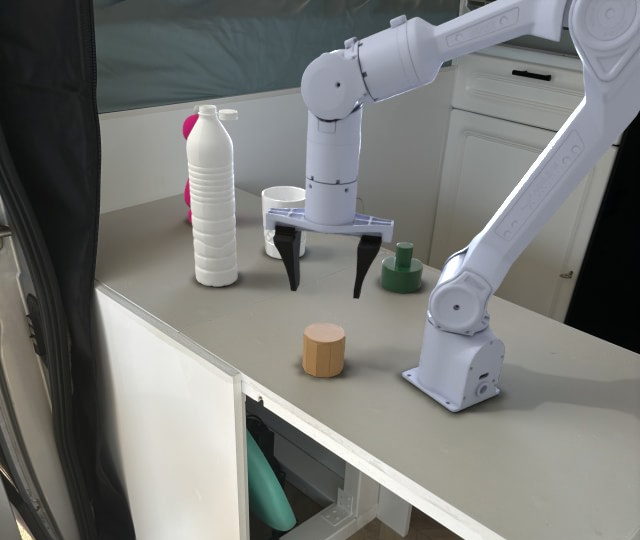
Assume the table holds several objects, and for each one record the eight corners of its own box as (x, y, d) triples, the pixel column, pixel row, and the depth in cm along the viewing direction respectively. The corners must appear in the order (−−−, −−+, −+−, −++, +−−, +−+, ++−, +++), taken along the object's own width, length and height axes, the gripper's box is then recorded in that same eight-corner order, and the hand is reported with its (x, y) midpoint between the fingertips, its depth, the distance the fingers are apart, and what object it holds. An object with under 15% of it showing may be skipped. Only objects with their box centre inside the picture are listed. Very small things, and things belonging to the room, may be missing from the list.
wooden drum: (350, 370, 83) (353, 335, 80) (317, 381, 80) (318, 346, 77) (328, 352, 86) (330, 318, 83) (295, 363, 84) (295, 328, 81)
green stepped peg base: (428, 287, 104) (434, 248, 100) (397, 296, 101) (402, 256, 97) (402, 273, 108) (407, 234, 104) (372, 281, 105) (375, 241, 101)
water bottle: (187, 277, 103) (173, 103, 88) (219, 266, 107) (211, 98, 92) (223, 296, 98) (214, 116, 83) (255, 284, 102) (252, 109, 87)
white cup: (302, 263, 109) (304, 203, 103) (256, 258, 110) (255, 198, 104) (312, 246, 115) (314, 188, 109) (268, 241, 116) (268, 183, 110)
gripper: (400, 172, 74) (388, 284, 82) (275, 160, 75) (275, 271, 84) (395, 191, 68) (382, 309, 76) (260, 178, 70) (261, 295, 78)
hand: (325, 291), depth 80 cm, fingers open, 7 cm apart
